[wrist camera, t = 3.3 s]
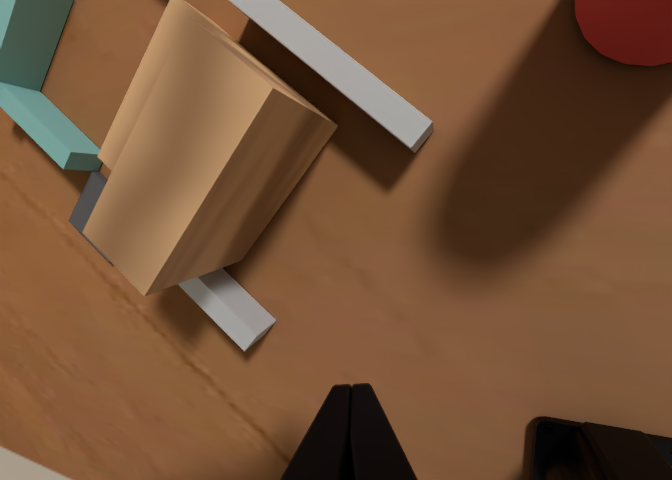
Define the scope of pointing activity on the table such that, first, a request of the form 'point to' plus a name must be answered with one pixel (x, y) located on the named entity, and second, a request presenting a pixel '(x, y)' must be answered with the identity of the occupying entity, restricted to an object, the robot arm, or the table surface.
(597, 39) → the beer can
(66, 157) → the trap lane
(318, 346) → the table surface
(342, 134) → the table surface
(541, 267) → the table surface
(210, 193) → the step block
